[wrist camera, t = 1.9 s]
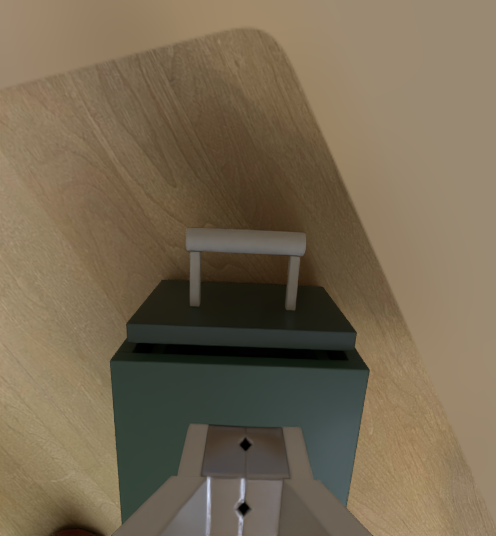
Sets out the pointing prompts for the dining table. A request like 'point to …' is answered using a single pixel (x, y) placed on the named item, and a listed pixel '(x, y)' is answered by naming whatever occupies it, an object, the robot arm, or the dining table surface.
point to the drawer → (242, 306)
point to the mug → (74, 532)
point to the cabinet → (231, 410)
